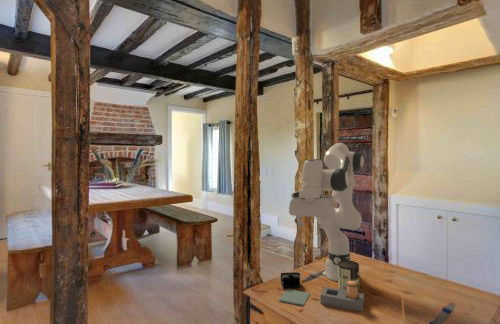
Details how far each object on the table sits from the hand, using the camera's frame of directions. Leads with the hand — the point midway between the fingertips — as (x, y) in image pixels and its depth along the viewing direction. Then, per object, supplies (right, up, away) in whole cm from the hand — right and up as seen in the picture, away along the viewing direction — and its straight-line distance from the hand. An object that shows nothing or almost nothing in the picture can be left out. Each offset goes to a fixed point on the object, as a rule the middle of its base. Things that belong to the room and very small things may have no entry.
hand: (310, 227), depth 122 cm
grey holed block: (+17, -38, +11) cm, 43 cm away
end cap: (-4, -39, +32) cm, 50 cm away
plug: (+21, -37, +9) cm, 43 cm away
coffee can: (+24, -38, +24) cm, 51 cm away
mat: (-4, -39, +18) cm, 43 cm away
